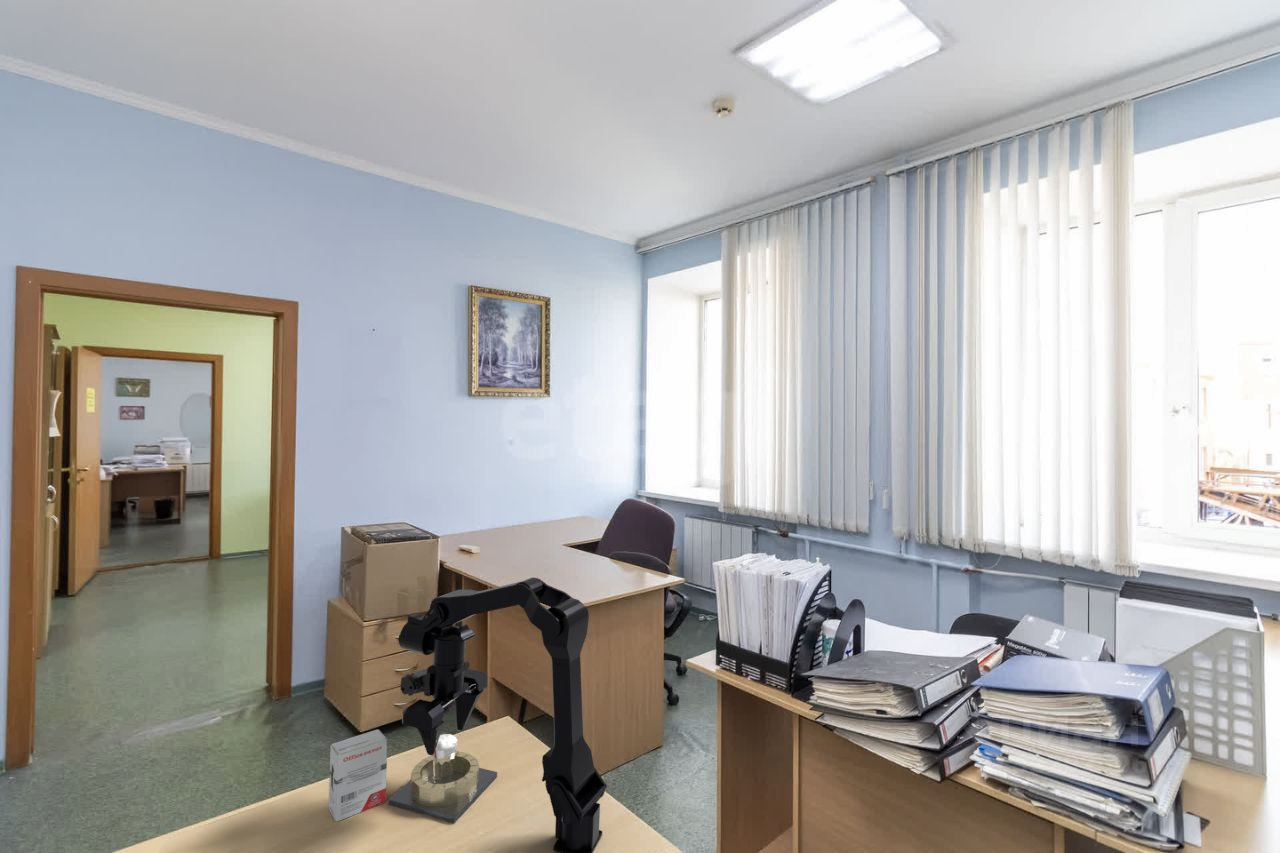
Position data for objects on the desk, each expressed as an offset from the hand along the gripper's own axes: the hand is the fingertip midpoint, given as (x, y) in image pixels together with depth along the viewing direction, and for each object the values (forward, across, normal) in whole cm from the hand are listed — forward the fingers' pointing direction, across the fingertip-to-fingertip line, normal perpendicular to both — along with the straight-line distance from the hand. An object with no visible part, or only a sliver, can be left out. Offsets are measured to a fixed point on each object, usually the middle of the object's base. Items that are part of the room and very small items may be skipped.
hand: (446, 741), depth 110 cm
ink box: (+10, +9, -12) cm, 18 cm away
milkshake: (+8, 0, 0) cm, 8 cm away
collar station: (+9, 0, 0) cm, 9 cm away
